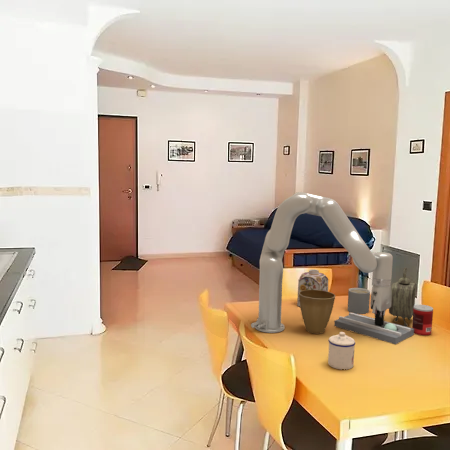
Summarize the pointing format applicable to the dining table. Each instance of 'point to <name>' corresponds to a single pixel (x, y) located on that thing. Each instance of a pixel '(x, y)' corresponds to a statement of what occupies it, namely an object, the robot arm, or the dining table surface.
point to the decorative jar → (312, 282)
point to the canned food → (422, 319)
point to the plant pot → (316, 309)
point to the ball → (390, 327)
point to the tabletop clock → (403, 298)
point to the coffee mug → (358, 300)
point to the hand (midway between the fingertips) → (379, 324)
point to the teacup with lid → (341, 351)
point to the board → (373, 328)
